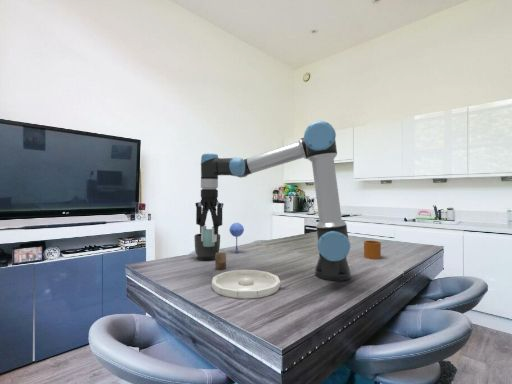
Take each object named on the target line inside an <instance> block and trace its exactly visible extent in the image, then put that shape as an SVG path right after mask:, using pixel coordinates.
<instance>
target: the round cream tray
mask: <svg viewBox="0 0 512 384" xmlns="http://www.w3.org/2000/svg"><path fill="white" fill-rule="evenodd" d="M280 287H281V279H280V278H279V276H278V275H276V274H273V273H272V272H268V271H265V270H263V271H262V270H256V269H236V270H229V271H223V272H221V273H219V274H216V275H215V276H213V277H212V280H211V288H212V290H213V291H214V292H215V293H216V294H218V295H219V296H224V297H227V298H233V299H242V300H244V299H245V300H247V299H249V300H251V299H258V298H264V297H268V296H271V295H273V294H275V293H277V292H278V291H279V290H280Z"/></svg>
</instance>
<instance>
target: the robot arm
mask: <svg viewBox="0 0 512 384" xmlns="http://www.w3.org/2000/svg"><path fill="white" fill-rule="evenodd" d="M336 137H337V134H336V130H335V128H334V127H333V125H332V124H331V123H329V122H327V121H325V120H318V121H314V122H312V123H310V124H309V125H308V126H307V128H306V129H305V131H304V134H303V137H302V138H299V140H298V141H296V142H294V143H290V144H288V145H287V144H286V145H285V146H282V147H278V148H275V149H272V150H269V151H266V152H263V153H260V154H257V155H254V156H251V157H247V158H241V157H229V158H228V157H223V158H219V155H218V154H217V153H209V152H207V153H203V154H202V155H201V159H200V160H201V161H200V188H201V189H200V201H199V202H195V205H194V206H195V207H196V211H195V212H196V214H195V215H196V216H195V219H196V220H195V221H196V223H195V224H196V225H198V226H199V234H201V241H203V230H204V229H207V225H206V221H207V216H208V212H210V215H211V220H212V225H213V226H212V227H211V229H212V242H216V241H217V234H219V227H221V226H223V208H224V205H225V204H224V203H223V202H219V199H218V198H219V191H218V188H219V176H232V177H237V178H240V179H241V178H247V177H248V176H249V175H251V174H254V173H257V172H260V171H264V170H267V169H271V168H273V167H277V166H281V165H284V164H287V163H292V162H294V161H297V160H301V159H305V160H308V161H309V162H310V163H311V167H312V173H313V175H312V176H313V182H314V189H315V198H316V206H317V213H318V220H319V221H318V223H317V224H316V226H315V227H316V229H315V230H316V235H317V250H318V252H319V253H318V256H319V257H318V259H317V263H316V265H315V268H314V275H315V276H316V277H317V278H318V279H319V278H320V279H322V280H326V281H337V282H338V281H347V280H350V279H351V275H352V274H351V273H352V272H351V270H350V266H349V264H348V258H347V257H348V255H349V253H350V251H351V242H350V240H349V233H348V226H347V223H346V222H345V221H343V218H342V212H341V203H340V196H339V189H338V182H337V181H338V180H337V175H336V174H337V172H336V164H335V158H336V157H337V156H338V151H337V150H338V149H337V142H336V141H337V140H336Z"/></svg>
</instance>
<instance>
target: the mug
mask: <svg viewBox="0 0 512 384" xmlns="http://www.w3.org/2000/svg"><path fill="white" fill-rule="evenodd" d="M381 244H382V243H381V242H380V241H378V240H363V257H364V258H365V259H368V258H369V260H380V258H381V257H382V255H381V252H382V248H381V246H382V245H381ZM381 259H382V258H381Z"/></svg>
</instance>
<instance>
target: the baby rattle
mask: <svg viewBox="0 0 512 384" xmlns="http://www.w3.org/2000/svg"><path fill="white" fill-rule="evenodd" d="M244 229H245V227H244V226H243V225H242V224H241V223H240V222H233V223H232V224H231V225H230V227H229V233H230V235H231V236H233V237H235V239H236V240H235V249H234V250H235V251H234V252H235V254H237V253H239V248H238V238H239V237H241V236H242V235H243V233H244V231H245V230H244Z"/></svg>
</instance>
